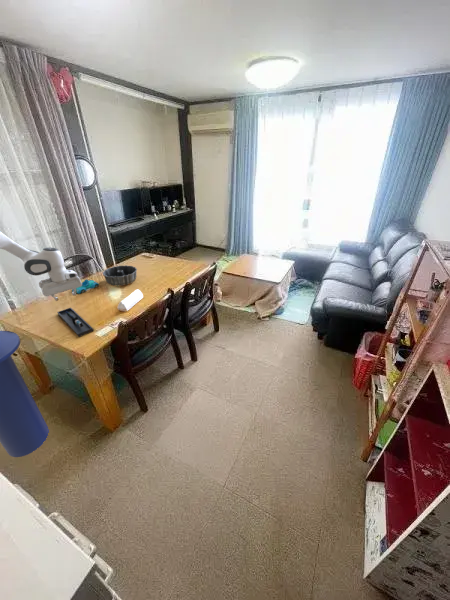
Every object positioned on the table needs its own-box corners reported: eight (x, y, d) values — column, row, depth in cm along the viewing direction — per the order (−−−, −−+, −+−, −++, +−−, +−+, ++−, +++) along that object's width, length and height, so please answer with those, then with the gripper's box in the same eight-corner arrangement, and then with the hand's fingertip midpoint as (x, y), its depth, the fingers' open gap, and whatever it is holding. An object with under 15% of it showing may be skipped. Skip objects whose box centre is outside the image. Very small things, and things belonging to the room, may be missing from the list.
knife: (85, 329, 149) (82, 322, 147) (79, 331, 147) (77, 324, 145) (71, 314, 170) (69, 308, 168) (66, 315, 168) (64, 309, 166)
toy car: (100, 285, 206) (98, 278, 202) (79, 294, 192) (77, 286, 188) (91, 283, 210) (89, 275, 207) (70, 291, 196) (68, 283, 193)
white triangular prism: (127, 308, 166) (146, 292, 186) (117, 302, 166) (138, 287, 186) (124, 316, 170) (143, 299, 190) (114, 310, 169) (135, 294, 190)
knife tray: (78, 337, 145) (77, 334, 144) (58, 314, 166) (57, 312, 165) (93, 331, 151) (92, 328, 150) (71, 310, 172) (70, 307, 171)
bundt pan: (122, 273, 228) (120, 263, 223) (145, 278, 218) (143, 267, 213) (98, 284, 207) (95, 273, 202) (122, 291, 197) (119, 279, 192)
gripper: (39, 282, 135) (47, 305, 142) (79, 272, 149) (85, 293, 155) (36, 279, 139) (44, 301, 146) (75, 269, 152) (81, 290, 159)
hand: (65, 297), depth 151 cm, fingers open, 8 cm apart
